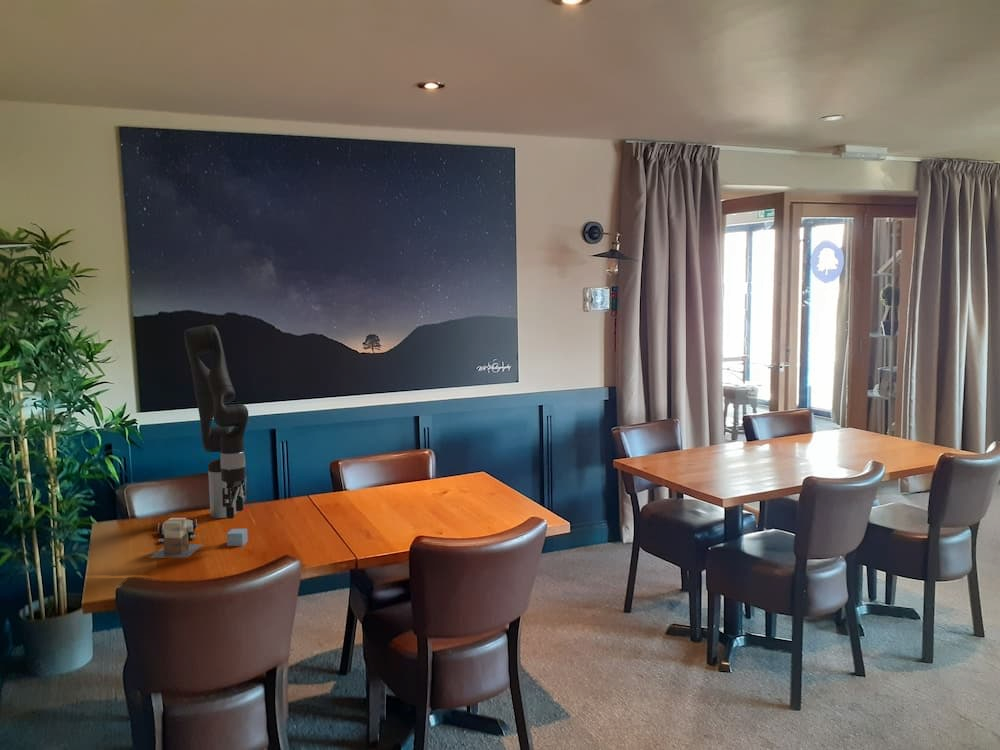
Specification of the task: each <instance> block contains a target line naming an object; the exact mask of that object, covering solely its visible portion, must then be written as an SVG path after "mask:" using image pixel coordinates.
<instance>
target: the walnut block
mask: <svg viewBox="0 0 1000 750" xmlns="http://www.w3.org/2000/svg"><path fill="white" fill-rule="evenodd" d="M162 543H163V547H164V554H182V553H183V552H184V551H186V550H187V549H188V548H189V538H188V533H186V534H185V535H184V536H182V537H181V538H163V542H162Z"/></svg>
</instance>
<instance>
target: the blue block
mask: <svg viewBox="0 0 1000 750" xmlns="http://www.w3.org/2000/svg"><path fill="white" fill-rule="evenodd" d="M248 535H249V534H248V528H232V529H230V530H229V531H228V532H227V533H226V544H227V545H226V546H227V547H242V549H243V548H245V546H246V545H248V541H249V538H248Z"/></svg>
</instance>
